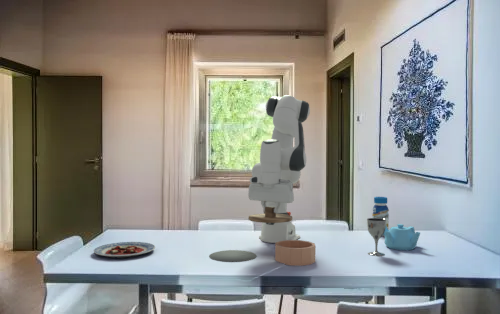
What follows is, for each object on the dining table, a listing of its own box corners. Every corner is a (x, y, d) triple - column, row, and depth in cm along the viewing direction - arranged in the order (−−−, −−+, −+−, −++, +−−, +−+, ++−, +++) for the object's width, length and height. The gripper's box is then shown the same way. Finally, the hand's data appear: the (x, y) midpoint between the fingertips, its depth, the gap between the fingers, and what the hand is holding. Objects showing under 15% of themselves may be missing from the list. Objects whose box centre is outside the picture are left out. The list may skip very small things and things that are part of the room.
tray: (228, 249, 188) (228, 248, 188) (265, 255, 177) (265, 254, 177) (199, 258, 172) (199, 257, 172) (238, 265, 160) (238, 264, 160)
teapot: (421, 252, 183) (421, 227, 183) (385, 250, 186) (385, 226, 186) (415, 244, 198) (415, 222, 198) (382, 243, 201) (382, 221, 201)
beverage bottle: (388, 233, 225) (388, 196, 225) (389, 236, 217) (389, 198, 216) (371, 232, 227) (371, 196, 227) (372, 235, 219) (372, 197, 218)
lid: (264, 214, 183) (264, 203, 183) (300, 218, 173) (300, 206, 173) (239, 219, 169) (239, 207, 169) (277, 224, 158) (277, 211, 158)
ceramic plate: (149, 260, 169) (149, 253, 169) (85, 261, 167) (85, 254, 167) (159, 246, 195) (159, 239, 195) (103, 246, 193) (103, 240, 193)
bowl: (287, 253, 180) (287, 238, 180) (321, 258, 171) (321, 243, 171) (268, 261, 167) (268, 245, 167) (303, 267, 158) (303, 250, 158)
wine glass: (386, 252, 182) (386, 218, 182) (385, 257, 174) (386, 221, 174) (367, 251, 184) (367, 217, 184) (366, 255, 177) (366, 220, 177)
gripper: (296, 179, 167) (296, 213, 167) (254, 177, 179) (254, 209, 179) (288, 180, 162) (288, 215, 162) (246, 178, 174) (246, 211, 174)
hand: (270, 212), depth 171 cm, fingers closed on lid, 3 cm apart
